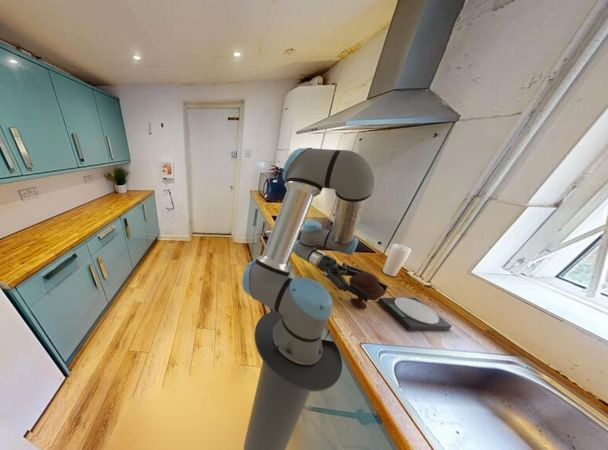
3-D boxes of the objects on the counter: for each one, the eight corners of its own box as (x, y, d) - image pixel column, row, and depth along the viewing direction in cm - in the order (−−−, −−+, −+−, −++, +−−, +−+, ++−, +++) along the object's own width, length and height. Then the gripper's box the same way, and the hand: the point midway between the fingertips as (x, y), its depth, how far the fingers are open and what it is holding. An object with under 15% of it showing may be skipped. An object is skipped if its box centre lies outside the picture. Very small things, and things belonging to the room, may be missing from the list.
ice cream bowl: (381, 317, 73) (399, 285, 67) (349, 312, 74) (362, 280, 68) (366, 296, 82) (380, 266, 76) (337, 292, 84) (348, 263, 78)
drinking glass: (385, 268, 102) (397, 242, 96) (401, 276, 96) (415, 249, 90) (377, 270, 100) (389, 245, 94) (392, 279, 94) (406, 252, 88)
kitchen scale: (407, 330, 69) (411, 324, 67) (377, 302, 80) (380, 296, 79) (448, 330, 69) (453, 324, 68) (412, 302, 81) (415, 296, 80)
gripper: (336, 262, 96) (390, 292, 78) (302, 275, 86) (354, 312, 68) (341, 249, 93) (398, 277, 75) (306, 260, 83) (362, 295, 65)
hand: (377, 294), depth 72 cm, fingers closed on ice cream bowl, 11 cm apart
